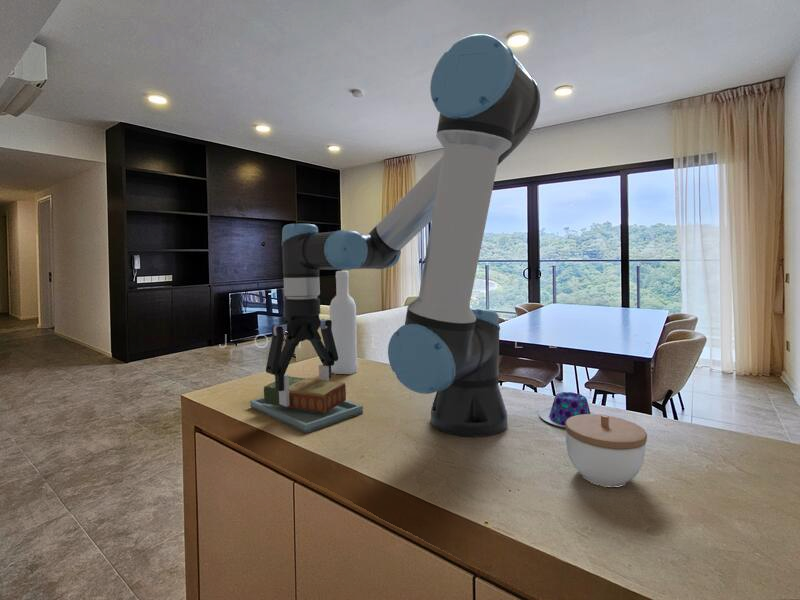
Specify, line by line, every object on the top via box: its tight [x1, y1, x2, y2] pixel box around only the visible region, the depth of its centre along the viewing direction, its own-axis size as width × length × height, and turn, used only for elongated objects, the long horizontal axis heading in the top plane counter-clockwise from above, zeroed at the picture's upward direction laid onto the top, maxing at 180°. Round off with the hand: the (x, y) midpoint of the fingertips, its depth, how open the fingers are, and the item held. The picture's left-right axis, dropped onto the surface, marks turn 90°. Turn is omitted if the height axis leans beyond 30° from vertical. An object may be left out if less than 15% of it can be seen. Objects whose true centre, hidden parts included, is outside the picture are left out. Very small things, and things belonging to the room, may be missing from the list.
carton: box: [263, 375, 347, 413], centre depth 91 cm, size 8×16×4 cm, turn 66°
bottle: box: [329, 270, 358, 375], centre depth 123 cm, size 8×8×30 cm
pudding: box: [538, 391, 595, 428], centre depth 84 cm, size 12×12×5 cm
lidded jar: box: [564, 413, 648, 487], centre depth 61 cm, size 11×11×9 cm
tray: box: [249, 396, 364, 434], centre depth 91 cm, size 22×14×2 cm
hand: (305, 399), depth 91 cm, fingers closed on carton, 10 cm apart
